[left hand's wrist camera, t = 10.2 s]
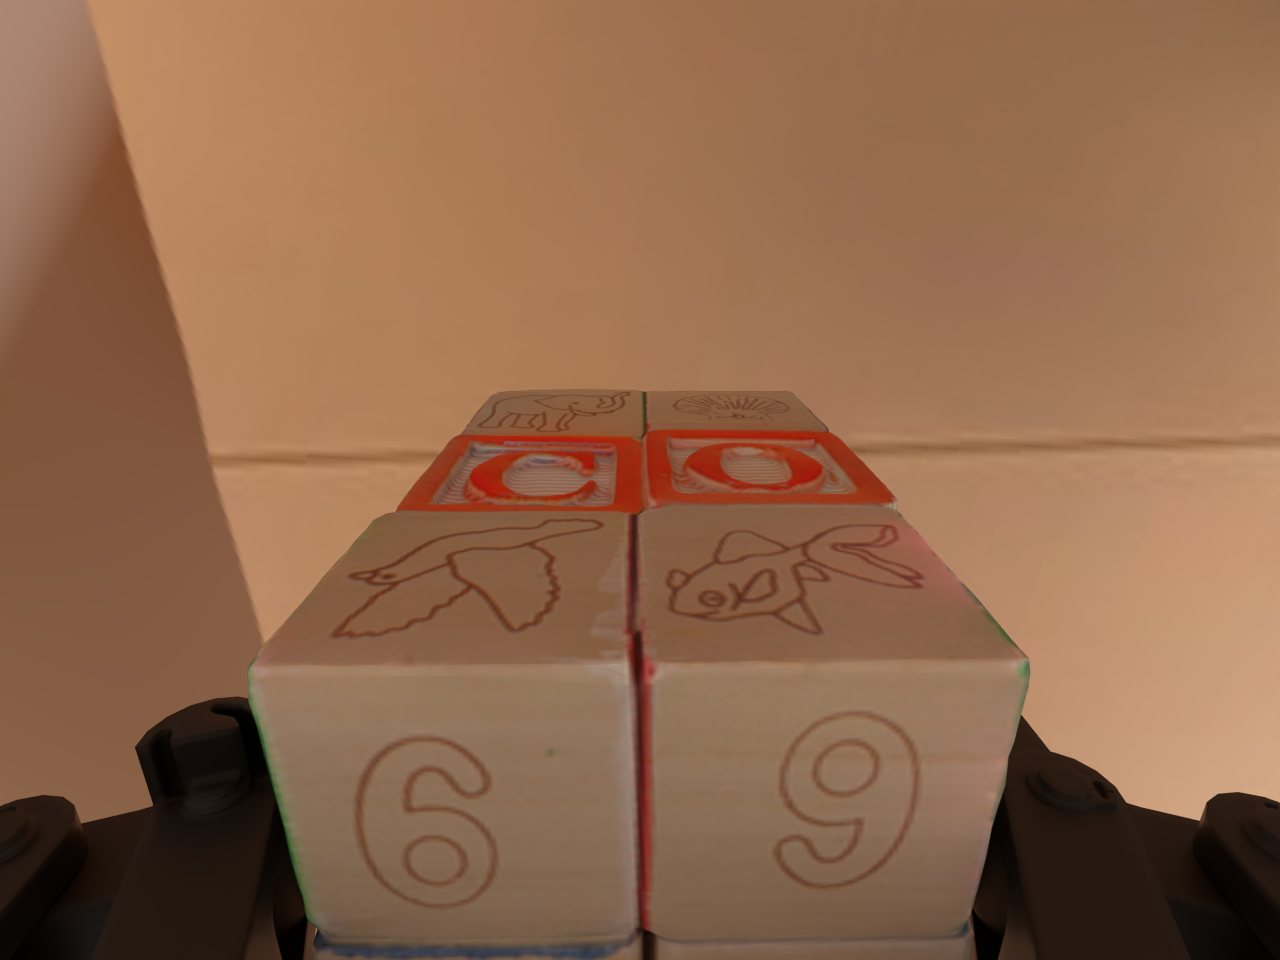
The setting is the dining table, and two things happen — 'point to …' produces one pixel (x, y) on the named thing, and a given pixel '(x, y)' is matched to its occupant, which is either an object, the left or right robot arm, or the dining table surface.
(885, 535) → the stack of blocks
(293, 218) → the dining table surface
